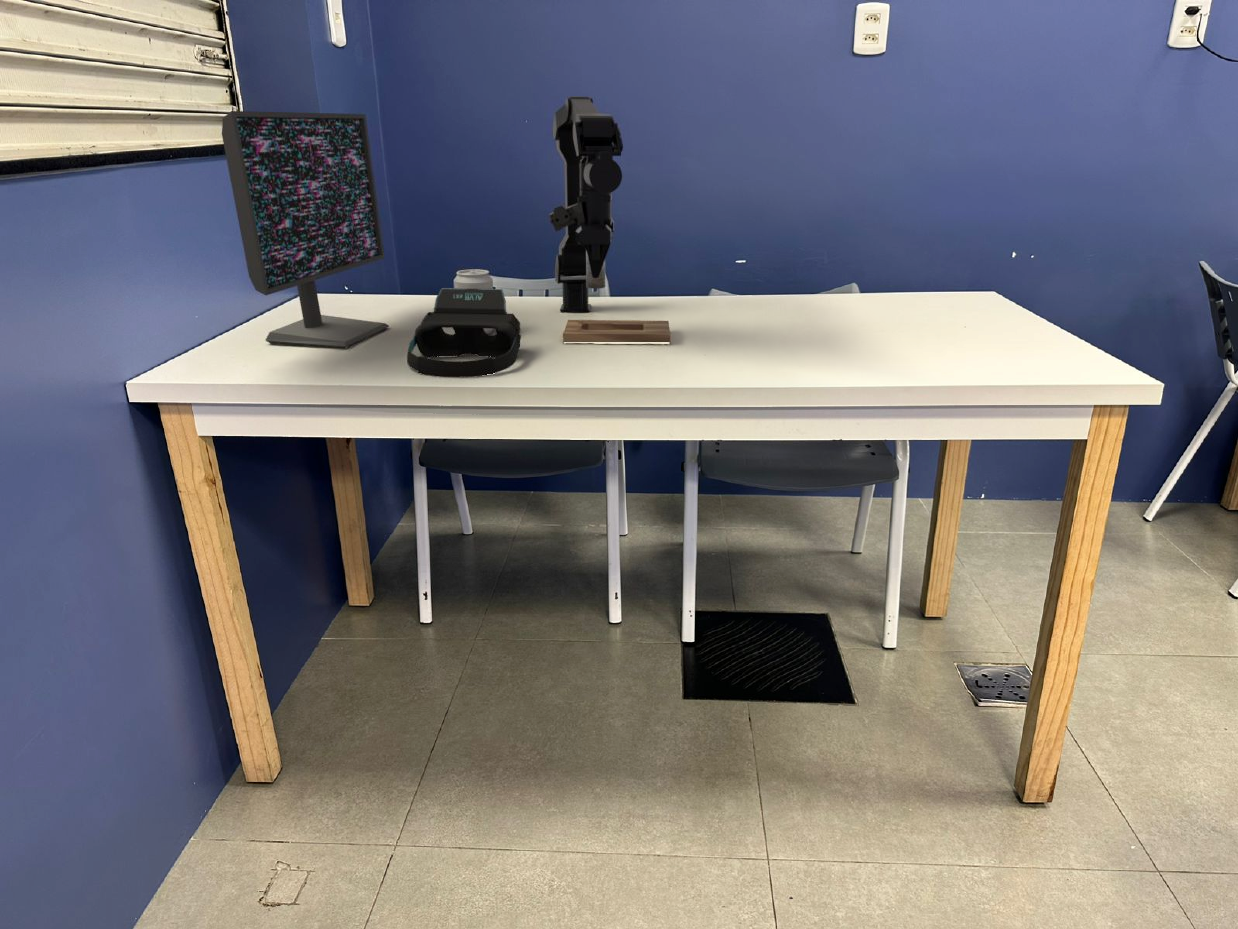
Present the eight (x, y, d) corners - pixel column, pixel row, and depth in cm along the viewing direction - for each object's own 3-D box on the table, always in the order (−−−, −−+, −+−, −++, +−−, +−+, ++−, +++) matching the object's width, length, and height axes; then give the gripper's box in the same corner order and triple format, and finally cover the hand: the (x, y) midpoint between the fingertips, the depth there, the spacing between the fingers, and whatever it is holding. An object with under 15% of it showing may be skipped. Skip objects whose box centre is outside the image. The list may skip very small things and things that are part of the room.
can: (453, 336, 166) (449, 273, 162) (461, 327, 173) (457, 267, 169) (491, 336, 166) (488, 274, 162) (498, 328, 173) (495, 267, 169)
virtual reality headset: (525, 340, 160) (523, 289, 154) (512, 392, 141) (509, 336, 136) (425, 338, 160) (420, 287, 154) (398, 390, 141) (391, 333, 136)
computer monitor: (309, 367, 144) (274, 110, 130) (222, 362, 147) (180, 110, 133) (416, 315, 184) (399, 114, 169) (347, 312, 187) (324, 113, 172)
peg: (587, 285, 164) (586, 242, 161) (605, 285, 164) (605, 242, 161) (585, 288, 161) (585, 244, 158) (604, 288, 161) (604, 244, 158)
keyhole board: (568, 329, 172) (568, 319, 171) (668, 330, 171) (668, 320, 171) (563, 343, 161) (562, 333, 160) (670, 344, 160) (670, 334, 160)
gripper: (556, 185, 165) (558, 267, 171) (545, 192, 148) (548, 284, 153) (614, 185, 165) (614, 268, 171) (610, 193, 147) (610, 284, 153)
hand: (596, 275), depth 162 cm, fingers closed on peg, 4 cm apart
